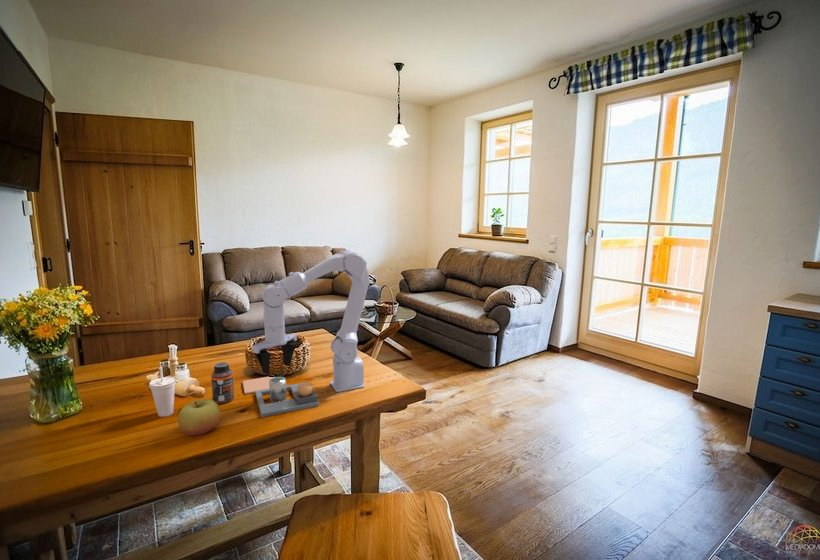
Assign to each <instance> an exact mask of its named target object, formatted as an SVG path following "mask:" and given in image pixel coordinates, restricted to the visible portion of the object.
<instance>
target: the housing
mask: <svg viewBox="0 0 820 560" xmlns="http://www.w3.org/2000/svg"><path fill="white" fill-rule="evenodd" d="M302 383H308V382H307V381H304V382H299V383H294V384H286V392H287V391H291V393H292V396H293V398H291V399H285V400H284V401H280V402H272V403H271V402H270V403H265V401H264V398H263V396H264V394H265V395H270V394H269V393H270V389H265V390H259V391H255V393H254V394H255V398H256V402H257V406H258V409H259V412H260V416H261V418H265V416H266V417H269V415H271V416H275V415H274V414H276V415H280V414H279V413H281V414H284V413H283V412H286V413H289V412H290V411H291V412H294V411H299V409H300V410H303V409H310V408H314V407H313V406H315V407H319V406H320V402H319V396H318V393H317V392H316V390H315V389H314V388H313V393H312V394H310V395H309V396H304V397H302V395H299V394H298V388H297V387H298V385H300V384H302ZM309 407H310V408H309Z"/></svg>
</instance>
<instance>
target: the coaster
mask: <svg viewBox="0 0 820 560" xmlns="http://www.w3.org/2000/svg"><path fill="white" fill-rule="evenodd" d="M274 377H275V376H274ZM274 377H269V376H264V377H257V378H251V379H246V380H242V387H243V392H244V395H246V394H247V395H251V393H252V394H256V393H255V391H259V390H265V389H270V387H269V380H270V379H272V378H274Z"/></svg>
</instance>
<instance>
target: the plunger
mask: <svg viewBox="0 0 820 560" xmlns="http://www.w3.org/2000/svg"><path fill="white" fill-rule="evenodd" d="M301 383H302V384H300V385H298V387H297V388H298V394H299V395H302V397H304V396H309V395H310V394H312V393H313V389H314V387H313V384H312V383H310V382H307V383H304V382H301Z"/></svg>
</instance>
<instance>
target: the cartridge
mask: <svg viewBox="0 0 820 560" xmlns="http://www.w3.org/2000/svg"><path fill="white" fill-rule="evenodd" d="M286 386H287V381H286V377H284V376H274V378H272V379H270V380H269V387H270V394H269V401H270V402H272V401H273V402H272V403H275V402H279V401H283V400H284V401H286V400H287V396H288V395H287V391H286Z"/></svg>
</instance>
